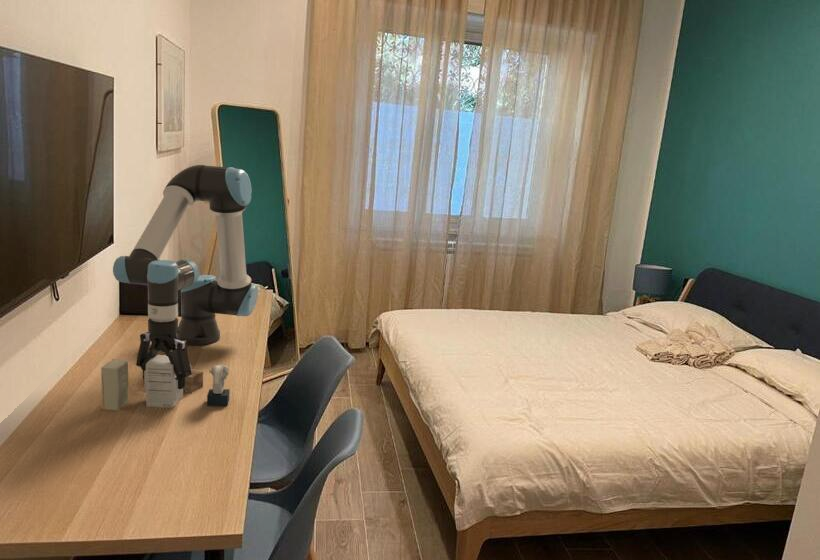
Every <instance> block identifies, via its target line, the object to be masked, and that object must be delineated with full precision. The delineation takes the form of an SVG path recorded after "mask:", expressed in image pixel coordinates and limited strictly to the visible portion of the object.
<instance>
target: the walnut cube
mask: <svg viewBox="0 0 820 560" xmlns="http://www.w3.org/2000/svg"><path fill="white" fill-rule="evenodd" d="M180 373H181V372H180ZM191 373H192V374H191V375H189V376H187V377H185V387H184V388H183V392H186V391H187V392H186V393H191V394H192V392H193V393H194V392H196V391H198V390H200V389H201V388H202V389H203V388H204V371H201V370H198V369H195V368H191Z"/></svg>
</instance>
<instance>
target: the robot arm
mask: <svg viewBox="0 0 820 560" xmlns="http://www.w3.org/2000/svg"><path fill="white" fill-rule="evenodd" d="M162 194H163V198H162V199H161V201H160V203H159V205H158V206H157V208H156V210H155V211H154V213H153V214H152V216H151V218H150V220H149V221H148V224H146V227H145V228H144V231H143V232H142V234H141V236H140V238H139V239H138V240H137V242H136V244H135V246H134V248H133V249H132V251H131V253H130V254H129V255H121V256H119V257H117V258H116V259H115V261H114V262H113V266H112V274H113V276H114V278H115V280H116V281H117V282H120V283H124V284H125V283H126V284H129V285H142V286H143V285H144V286H147V315H148V316H147V317H148V319H147V332H144V333H141V334H140V335H139V341H140V344H139V348H138V352H137V353H138V354H137V357H136V362H135V365H136V366H137V367H140V368H141V370H142V380H143V381H144V382H143V385H144V393H145V394H146V363H147V362H148V361H149V360H150V359H151V358H153V357H155V356H156V355H158V353H159V352H162V353H164V355H166V356H168V358H169V360H170V363H171V364H173V365H174V372H175V375H176V378H174V401H177V400H178V401H179V400H181V399H183V398H184V391H183V388H184V387H185V377H187V376H189V375H191V374H192V373H191V369H192V367H191V368H190V365H191V363H190V359H189V355H188V350H187V349H188V347H187V346H189V345H190V346H203V345H210V344H214V343H216V342H218V341H220V339H221V331H220V329H219V326H218V322H217V319H216V314H219V315H228V316H236V317H249V316H250V315H252V314H253V312H254V310H255V308H256V305H257V302H258V296H259V288H258V286H257V285H256V284H253V283H252V278H251V276H249V274H247V264H246V263H247V262H246V251H245V249H246V248H245V236H244V234H245V233H244V225H243V224H244V221H243V212H244V211H245V210H246V209H247V206H248V205H249V204H250V203H251V201H252V194H253V189H252V183H251V179H250V176H249V175H248V173H247V172H246V170H243V169H240V168H235V167H232V166H229V167H226V166H214V165H205V164H195V165H192V166H191V165H190V166H188V167H186V168H185V169H183V170H180V172H178V173H176V174H175V175H174V176H173V177H172V178H170V180H169V181H168V182H167V184H166V186H165V187H164V189H163V191H162ZM195 202H206V203H209V205H208V206H209V210H210V211H211V212H212V213H214V215H215V227H216V236H217V247H218V258H219V259H218V260H219V269H220V276H219V278H217V277H216V276H215V275H213V274H200V270H199V267H198V265H197V263H195V262H194V261H192V260H189V259H180V260H177V261H174V260H168V259H161V257H162V255H163V253H164V251H165V249H166V248H167V246H168V244H169V243H170V240H171V238H172V237H173V235H174V233H175V231H176V229H177V228H178V226H179V224H180V222H181V220H182V218H183V217H184V215H185V212H186V211H187V209H190V208H191V207H192V206H193V205H194V204H195ZM179 292H180V299H181V300H180V303H181V304H180V305H181V307H180V308H181V309H180V311H181V312H180V313H181V314H180V315H181V316H180V318H181V319H180V321H179V319H178V317H179ZM180 372H181V373H180ZM178 401H177V402H178Z"/></svg>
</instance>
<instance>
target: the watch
mask: <svg viewBox="0 0 820 560" xmlns="http://www.w3.org/2000/svg"><path fill="white" fill-rule="evenodd" d="M229 372H230V369H229V367H228V366H227V365H224V364H215V365H213V366H212V367H211V369H210V370H209V373H210V374H211V375H212V377H213V379H212V381H213V382H212V388H209V389H208V392H207V394H206V395H207V396H206V407H222V406H223V407H228V406H229V403H228V402H229V401H230V391H231V390H230V388H228V389H227V388H226V389H225V388H224V387H225V380H227V377H228V375H229ZM227 405H228V406H227Z"/></svg>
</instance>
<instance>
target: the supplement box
mask: <svg viewBox="0 0 820 560" xmlns="http://www.w3.org/2000/svg"><path fill="white" fill-rule="evenodd" d="M174 378H176V375H175V372H174V365H173V364H171V363H170V360H169V358H168V356H166V354H157V355H156V356H155V357H153V358H151V359H150V360H149V361H148V362H147V363H146V393H145V394H146V395H145V396H146V397H145V399H146V407H149V408H167V409H169V408H170V409H172V408H173V409H174V407H175V406H176V404H177V403H178V401H179V400H177V401H174Z"/></svg>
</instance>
